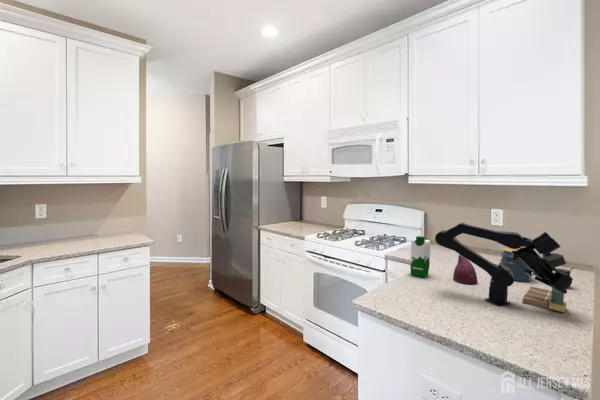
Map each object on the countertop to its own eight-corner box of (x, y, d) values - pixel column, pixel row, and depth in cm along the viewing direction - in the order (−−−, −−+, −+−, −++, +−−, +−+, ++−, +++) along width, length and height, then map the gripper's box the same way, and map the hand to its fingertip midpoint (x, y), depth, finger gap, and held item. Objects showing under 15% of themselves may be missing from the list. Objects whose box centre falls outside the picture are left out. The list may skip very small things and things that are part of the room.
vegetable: (451, 287, 151) (443, 257, 151) (458, 280, 158) (450, 251, 158) (475, 288, 143) (466, 256, 144) (481, 280, 151) (473, 249, 151)
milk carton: (408, 275, 158) (410, 236, 156) (412, 271, 165) (414, 234, 164) (426, 279, 153) (428, 238, 152) (430, 274, 160) (432, 236, 159)
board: (547, 309, 119) (548, 303, 119) (522, 302, 125) (522, 297, 125) (553, 295, 134) (553, 290, 134) (530, 290, 139) (530, 286, 139)
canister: (534, 279, 156) (537, 244, 155) (523, 284, 149) (526, 247, 147) (506, 272, 167) (508, 240, 165) (494, 276, 159) (496, 242, 158)
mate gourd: (550, 282, 151) (552, 262, 150) (571, 286, 147) (573, 265, 146) (551, 286, 145) (553, 265, 145) (573, 290, 141) (575, 268, 140)
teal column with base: (564, 312, 115) (566, 283, 114) (548, 308, 118) (550, 280, 117) (566, 307, 120) (568, 279, 119) (550, 303, 123) (552, 276, 122)
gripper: (568, 252, 109) (600, 285, 108) (534, 241, 127) (561, 269, 127) (542, 273, 110) (574, 306, 110) (512, 259, 128) (539, 287, 128)
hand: (562, 290), depth 118 cm, fingers closed on teal column with base, 4 cm apart
